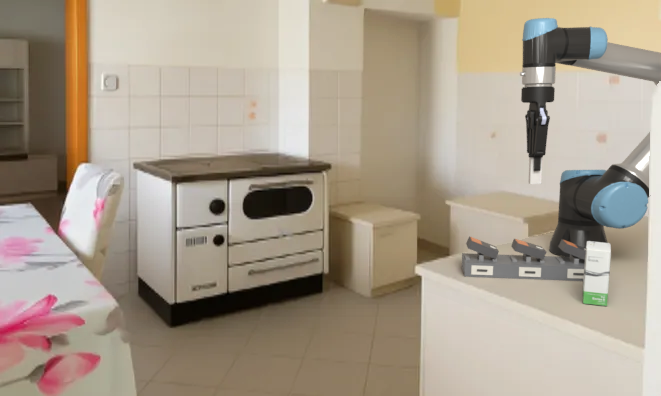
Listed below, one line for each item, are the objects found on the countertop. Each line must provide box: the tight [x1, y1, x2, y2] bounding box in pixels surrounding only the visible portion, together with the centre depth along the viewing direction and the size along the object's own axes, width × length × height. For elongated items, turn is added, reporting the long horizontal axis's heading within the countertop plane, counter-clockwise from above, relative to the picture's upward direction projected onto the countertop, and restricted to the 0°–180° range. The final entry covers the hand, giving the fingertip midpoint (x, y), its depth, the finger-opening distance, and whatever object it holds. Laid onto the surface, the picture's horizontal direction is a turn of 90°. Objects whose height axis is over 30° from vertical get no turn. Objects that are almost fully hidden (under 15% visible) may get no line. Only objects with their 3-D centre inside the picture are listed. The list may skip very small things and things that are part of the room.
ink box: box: [582, 241, 612, 307], centre depth 132 cm, size 9×5×12 cm, turn 158°
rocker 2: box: [511, 238, 547, 260], centre depth 151 cm, size 7×5×2 cm
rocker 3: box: [558, 239, 586, 260], centre depth 150 cm, size 7×5×2 cm
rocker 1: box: [465, 236, 500, 259], centre depth 153 cm, size 7×5×2 cm
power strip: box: [461, 252, 585, 282], centre depth 152 cm, size 30×9×5 cm, turn 83°
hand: (534, 183), depth 154 cm, fingers closed
